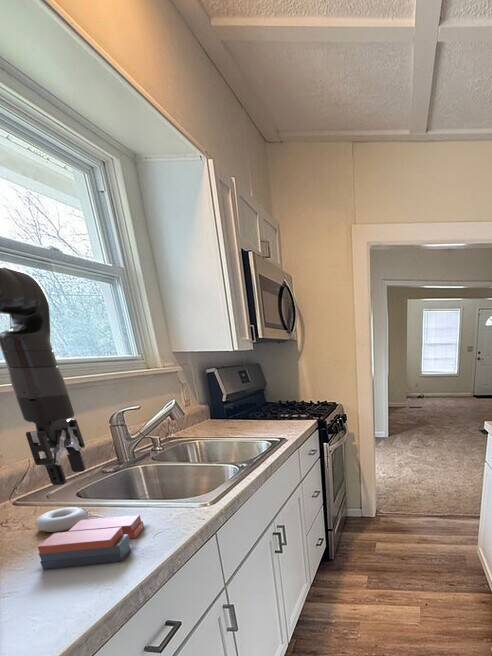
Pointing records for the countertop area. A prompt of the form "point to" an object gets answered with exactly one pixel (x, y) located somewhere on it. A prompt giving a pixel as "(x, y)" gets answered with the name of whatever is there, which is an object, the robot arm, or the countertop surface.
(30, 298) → the robot arm
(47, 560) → the grey rectangular block
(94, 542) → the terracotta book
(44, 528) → the donut
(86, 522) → the orange-red flat block
